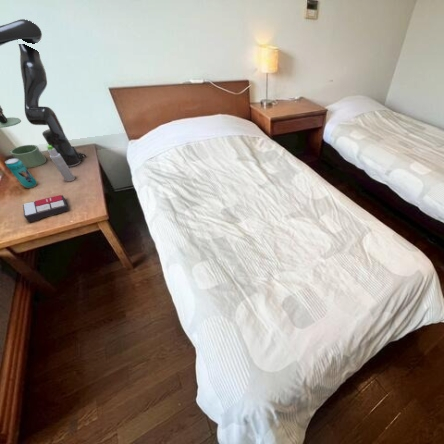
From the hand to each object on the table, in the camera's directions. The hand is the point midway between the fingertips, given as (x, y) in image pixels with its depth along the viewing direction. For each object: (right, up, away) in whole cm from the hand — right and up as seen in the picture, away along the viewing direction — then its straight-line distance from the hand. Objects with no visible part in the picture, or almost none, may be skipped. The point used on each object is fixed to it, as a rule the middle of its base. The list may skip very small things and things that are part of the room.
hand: (4, 121), depth 131 cm
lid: (0, 0, 0) cm, 1 cm away
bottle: (+28, -30, +8) cm, 42 cm away
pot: (-3, -18, +17) cm, 25 cm away
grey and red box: (+35, -48, -11) cm, 61 cm away
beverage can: (+13, -34, +2) cm, 37 cm away
